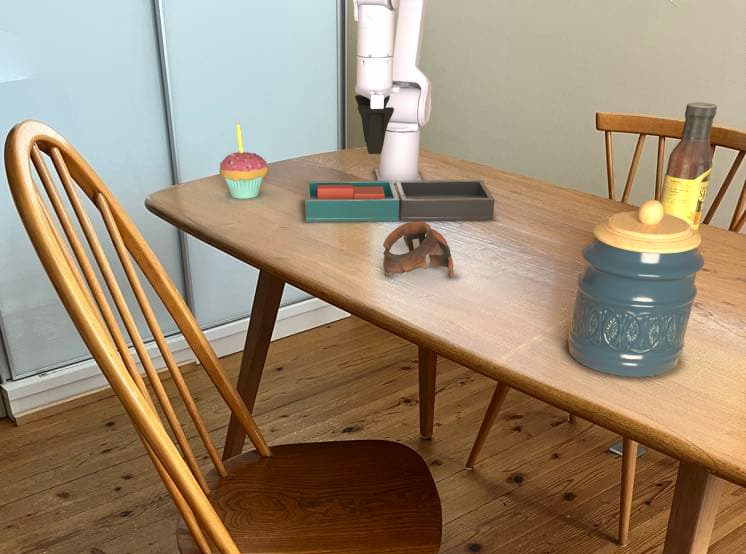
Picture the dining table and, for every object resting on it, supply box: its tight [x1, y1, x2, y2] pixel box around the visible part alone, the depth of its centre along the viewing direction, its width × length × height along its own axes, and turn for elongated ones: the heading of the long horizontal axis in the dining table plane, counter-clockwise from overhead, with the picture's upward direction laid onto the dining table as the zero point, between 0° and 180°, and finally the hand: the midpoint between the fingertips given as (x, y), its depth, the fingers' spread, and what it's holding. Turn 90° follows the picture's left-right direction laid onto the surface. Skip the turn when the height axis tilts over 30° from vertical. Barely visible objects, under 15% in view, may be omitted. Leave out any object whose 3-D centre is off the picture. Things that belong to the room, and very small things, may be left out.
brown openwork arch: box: [382, 220, 455, 279], centre depth 126 cm, size 12×10×8 cm
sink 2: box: [394, 179, 496, 222], centre depth 151 cm, size 12×15×3 cm
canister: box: [567, 199, 705, 378], centre depth 101 cm, size 13×13×18 cm
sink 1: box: [304, 180, 400, 223], centre depth 150 cm, size 12×15×3 cm
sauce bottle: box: [659, 102, 718, 233], centre depth 131 cm, size 7×6×20 cm
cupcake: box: [218, 119, 269, 200], centre depth 155 cm, size 9×8×12 cm
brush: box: [317, 185, 384, 199], centre depth 150 cm, size 5×11×3 cm, turn 91°
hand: (373, 147), depth 149 cm, fingers open, 7 cm apart
